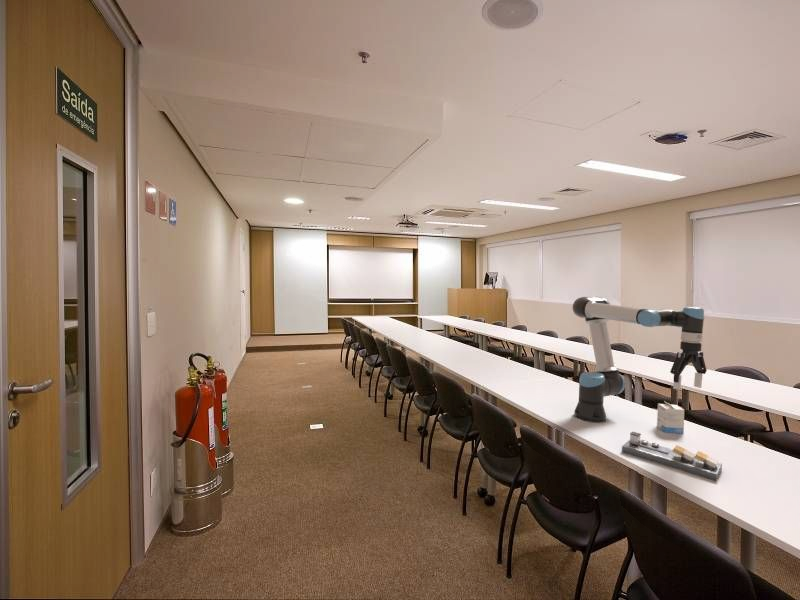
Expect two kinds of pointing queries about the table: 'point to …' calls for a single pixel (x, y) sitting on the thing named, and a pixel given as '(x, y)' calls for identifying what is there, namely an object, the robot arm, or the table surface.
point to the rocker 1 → (683, 452)
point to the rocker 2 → (706, 459)
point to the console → (671, 459)
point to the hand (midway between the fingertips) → (687, 388)
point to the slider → (635, 438)
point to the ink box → (670, 418)
